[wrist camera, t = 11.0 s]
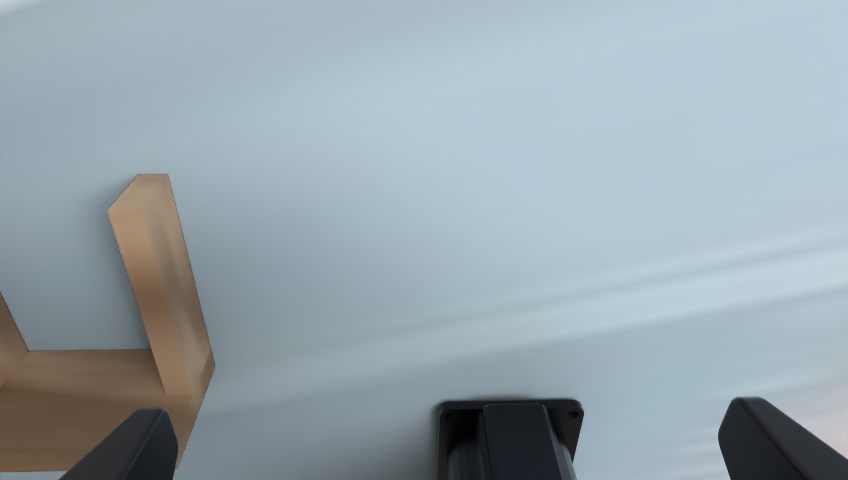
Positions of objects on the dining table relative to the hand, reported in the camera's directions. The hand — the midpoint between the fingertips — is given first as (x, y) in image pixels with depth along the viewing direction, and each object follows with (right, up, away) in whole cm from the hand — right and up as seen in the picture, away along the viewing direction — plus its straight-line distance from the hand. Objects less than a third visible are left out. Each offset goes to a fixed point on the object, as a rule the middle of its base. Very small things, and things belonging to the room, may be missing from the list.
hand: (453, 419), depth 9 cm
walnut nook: (-13, +2, +13) cm, 19 cm away
